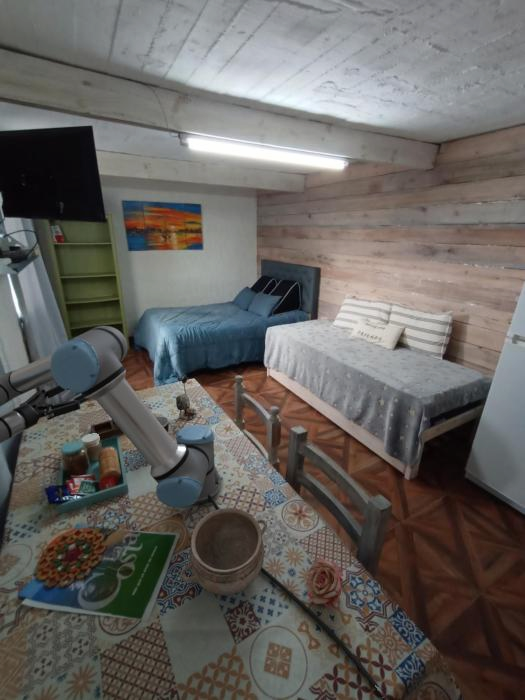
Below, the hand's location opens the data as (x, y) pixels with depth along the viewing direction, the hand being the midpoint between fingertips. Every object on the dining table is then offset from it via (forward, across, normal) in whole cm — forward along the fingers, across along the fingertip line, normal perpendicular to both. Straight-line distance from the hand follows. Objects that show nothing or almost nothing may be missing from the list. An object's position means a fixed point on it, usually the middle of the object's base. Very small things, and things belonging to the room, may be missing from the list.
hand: (77, 390), depth 117 cm
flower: (-19, +98, -27) cm, 103 cm away
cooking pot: (-22, +73, -27) cm, 81 cm away
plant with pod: (+35, +22, -27) cm, 49 cm away
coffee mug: (+15, +23, -27) cm, 38 cm away
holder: (+13, -1, -26) cm, 29 cm away
